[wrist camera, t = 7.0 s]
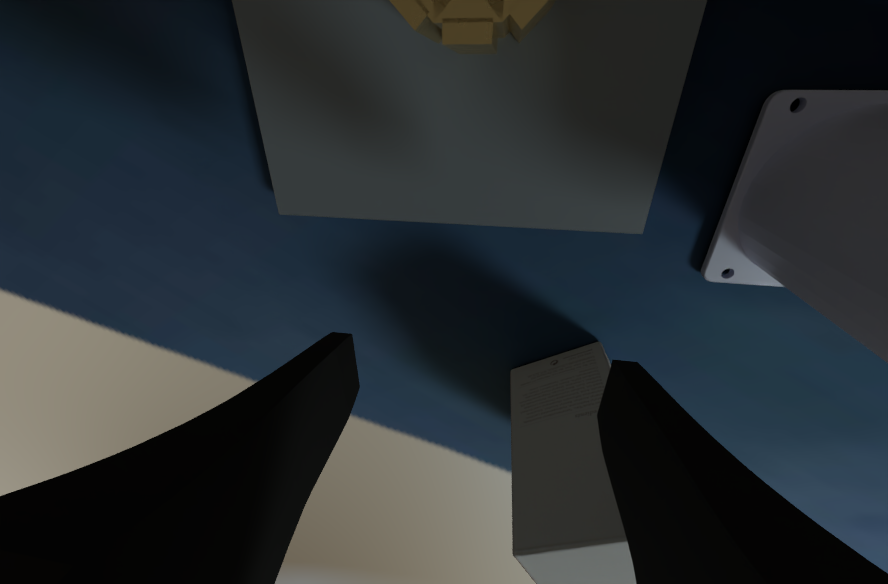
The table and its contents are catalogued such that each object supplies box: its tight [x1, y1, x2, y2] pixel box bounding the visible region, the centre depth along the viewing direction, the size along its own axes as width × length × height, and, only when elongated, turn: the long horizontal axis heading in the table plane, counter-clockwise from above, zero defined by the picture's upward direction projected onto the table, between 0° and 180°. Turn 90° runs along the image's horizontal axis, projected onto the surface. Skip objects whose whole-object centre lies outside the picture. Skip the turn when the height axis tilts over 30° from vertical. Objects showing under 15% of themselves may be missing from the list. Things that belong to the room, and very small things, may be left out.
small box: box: [510, 342, 637, 584], centre depth 19 cm, size 8×6×10 cm
